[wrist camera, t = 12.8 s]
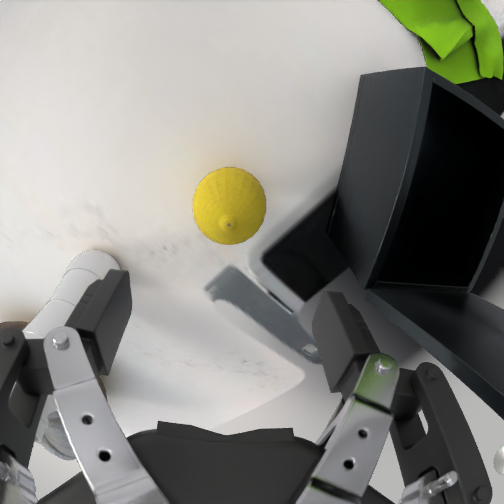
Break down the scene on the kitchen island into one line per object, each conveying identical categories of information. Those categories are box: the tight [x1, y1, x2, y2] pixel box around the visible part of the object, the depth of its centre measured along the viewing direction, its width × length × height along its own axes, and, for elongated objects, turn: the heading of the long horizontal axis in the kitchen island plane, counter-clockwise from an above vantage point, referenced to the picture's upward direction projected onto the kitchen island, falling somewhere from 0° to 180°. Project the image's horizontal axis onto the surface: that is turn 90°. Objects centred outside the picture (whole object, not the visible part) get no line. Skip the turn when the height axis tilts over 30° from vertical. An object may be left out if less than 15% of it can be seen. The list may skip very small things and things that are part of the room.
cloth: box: [379, 0, 504, 84], centre depth 14 cm, size 20×22×2 cm
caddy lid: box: [365, 289, 504, 475], centre depth 12 cm, size 16×13×5 cm
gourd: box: [0, 322, 108, 460], centre depth 28 cm, size 25×25×17 cm
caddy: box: [326, 67, 504, 294], centre depth 20 cm, size 16×13×10 cm
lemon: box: [193, 167, 266, 245], centre depth 21 cm, size 6×6×8 cm
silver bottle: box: [10, 250, 121, 443], centre depth 19 cm, size 6×7×20 cm
